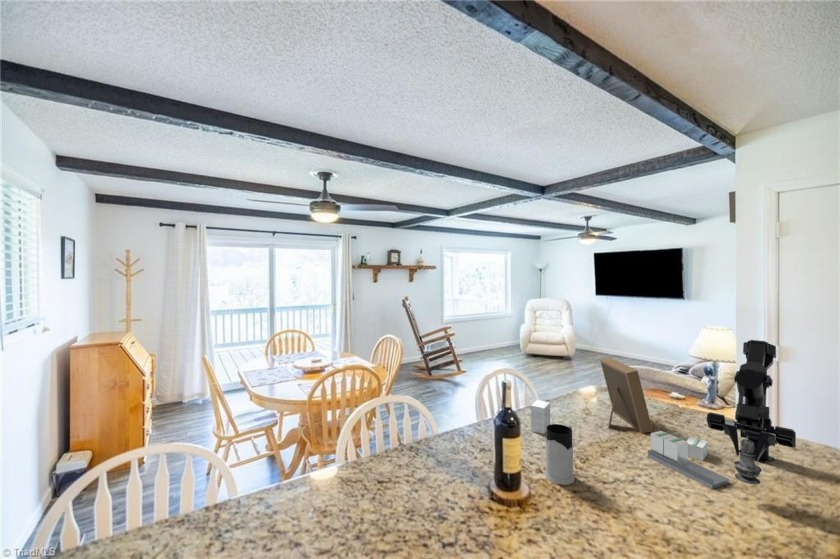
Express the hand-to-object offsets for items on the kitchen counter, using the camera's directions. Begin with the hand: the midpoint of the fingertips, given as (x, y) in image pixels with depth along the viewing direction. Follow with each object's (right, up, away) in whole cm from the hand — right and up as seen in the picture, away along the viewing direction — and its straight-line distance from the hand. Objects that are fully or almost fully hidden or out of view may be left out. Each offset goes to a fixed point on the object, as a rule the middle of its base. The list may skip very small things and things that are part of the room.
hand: (746, 457), depth 101 cm
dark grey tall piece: (+1, -7, +1) cm, 7 cm away
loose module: (+6, -12, +26) cm, 29 cm away
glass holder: (-45, -13, +15) cm, 49 cm away
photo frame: (-6, -12, +54) cm, 55 cm away
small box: (-41, -12, +48) cm, 64 cm away
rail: (-5, -12, +17) cm, 21 cm away
